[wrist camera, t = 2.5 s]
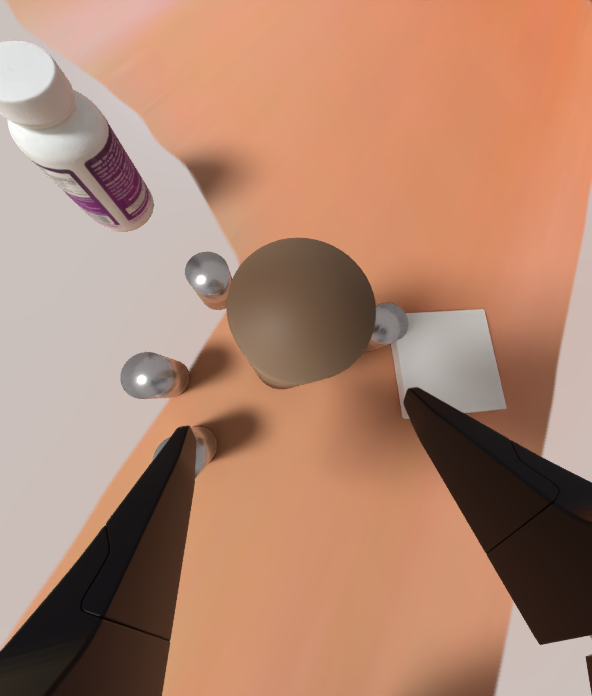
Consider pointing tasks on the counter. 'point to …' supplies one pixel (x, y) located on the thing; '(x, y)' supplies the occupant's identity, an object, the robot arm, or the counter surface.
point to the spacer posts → (212, 287)
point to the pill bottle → (70, 138)
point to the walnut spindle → (300, 311)
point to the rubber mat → (449, 360)
